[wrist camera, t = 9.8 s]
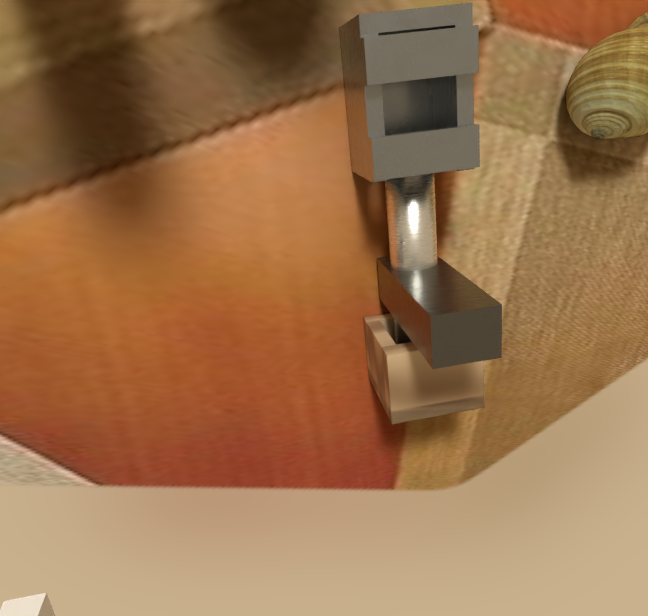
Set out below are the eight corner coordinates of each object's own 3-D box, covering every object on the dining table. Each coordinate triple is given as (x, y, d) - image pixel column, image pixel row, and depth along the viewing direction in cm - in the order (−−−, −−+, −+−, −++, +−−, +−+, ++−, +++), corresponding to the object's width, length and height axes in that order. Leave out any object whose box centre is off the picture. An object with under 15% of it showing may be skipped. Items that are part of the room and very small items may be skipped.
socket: (363, 317, 43) (386, 355, 37) (446, 304, 44) (483, 339, 37) (368, 377, 45) (391, 424, 39) (448, 363, 46) (484, 407, 39)
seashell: (605, 33, 43) (616, -38, 36) (707, 55, 40) (741, -17, 33) (549, 152, 44) (547, 106, 36) (645, 181, 41) (665, 139, 33)
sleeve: (339, 27, 36) (362, 12, 30) (435, 17, 37) (478, 0, 31) (351, 170, 39) (374, 184, 33) (440, 159, 40) (479, 170, 34)
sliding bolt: (368, 153, 39) (424, 175, 28) (425, 146, 39) (502, 165, 28) (384, 357, 44) (436, 443, 33) (433, 349, 45) (501, 431, 34)
